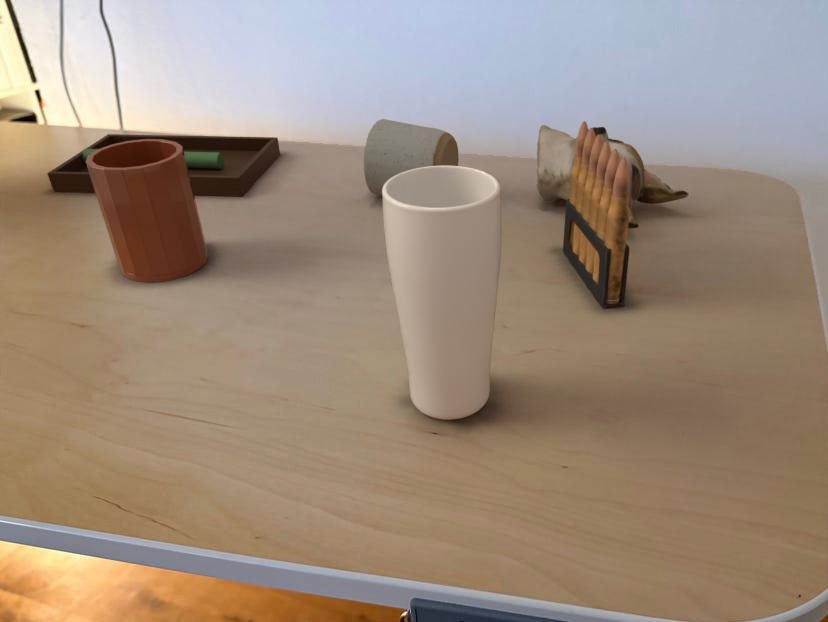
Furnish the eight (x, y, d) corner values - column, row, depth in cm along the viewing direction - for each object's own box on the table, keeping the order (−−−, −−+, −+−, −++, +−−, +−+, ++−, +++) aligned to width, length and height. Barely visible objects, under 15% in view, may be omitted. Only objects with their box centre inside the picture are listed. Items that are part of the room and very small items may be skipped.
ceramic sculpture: (573, 97, 78) (703, 134, 70) (565, 175, 83) (685, 219, 75) (508, 122, 71) (644, 167, 64) (504, 206, 76) (629, 256, 69)
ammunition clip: (562, 250, 68) (570, 118, 61) (581, 248, 69) (591, 117, 62) (602, 309, 60) (617, 162, 53) (624, 306, 60) (641, 160, 53)
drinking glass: (405, 369, 53) (388, 163, 45) (501, 370, 53) (502, 164, 44) (393, 430, 48) (371, 209, 39) (500, 432, 47) (501, 210, 39)
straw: (224, 150, 84) (82, 123, 84) (218, 158, 83) (74, 131, 83) (227, 184, 88) (91, 159, 87) (222, 192, 86) (84, 167, 86)
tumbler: (105, 280, 64) (67, 168, 59) (144, 243, 70) (114, 138, 65) (188, 283, 64) (158, 170, 58) (220, 245, 70) (196, 139, 64)
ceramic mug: (440, 214, 75) (437, 137, 71) (365, 205, 77) (358, 130, 73) (471, 178, 84) (470, 108, 79) (402, 171, 86) (398, 102, 81)
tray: (242, 196, 80) (238, 177, 78) (53, 191, 81) (46, 173, 80) (280, 154, 90) (277, 137, 89) (113, 150, 92) (107, 134, 91)
